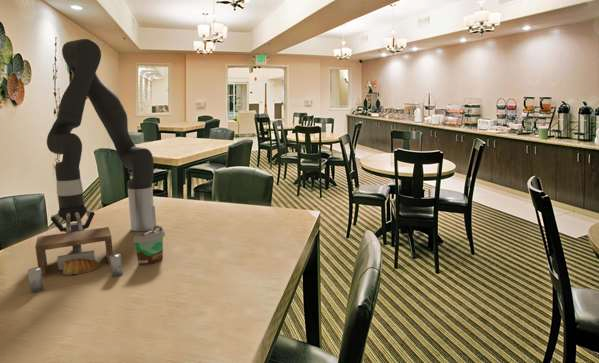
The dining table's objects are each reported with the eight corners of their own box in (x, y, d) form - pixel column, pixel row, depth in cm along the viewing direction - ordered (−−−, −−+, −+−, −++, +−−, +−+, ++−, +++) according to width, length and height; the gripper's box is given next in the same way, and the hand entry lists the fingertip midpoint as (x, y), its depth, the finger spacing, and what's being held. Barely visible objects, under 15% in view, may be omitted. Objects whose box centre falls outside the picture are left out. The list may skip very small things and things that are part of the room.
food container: (153, 268, 123) (151, 237, 121) (135, 267, 124) (132, 236, 122) (173, 254, 135) (171, 225, 133) (157, 252, 136) (154, 224, 134)
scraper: (93, 244, 142) (90, 221, 140) (95, 263, 127) (92, 237, 125) (60, 249, 138) (57, 225, 136) (59, 270, 122) (55, 243, 120)
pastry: (97, 264, 127) (96, 252, 126) (98, 271, 121) (97, 260, 121) (63, 269, 123) (62, 258, 122) (62, 278, 117) (61, 266, 116)
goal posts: (121, 271, 121) (120, 253, 119) (123, 275, 118) (121, 256, 117) (31, 289, 110) (28, 268, 108) (30, 293, 107) (27, 272, 106)
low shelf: (111, 253, 135) (108, 227, 133) (114, 263, 127) (111, 235, 125) (41, 265, 126) (37, 236, 124) (39, 277, 117) (35, 246, 115)
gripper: (93, 188, 141) (98, 234, 144) (46, 192, 134) (53, 241, 137) (93, 192, 134) (99, 241, 138) (45, 197, 127) (52, 248, 131)
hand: (76, 241), depth 137 cm, fingers closed on scraper, 2 cm apart
